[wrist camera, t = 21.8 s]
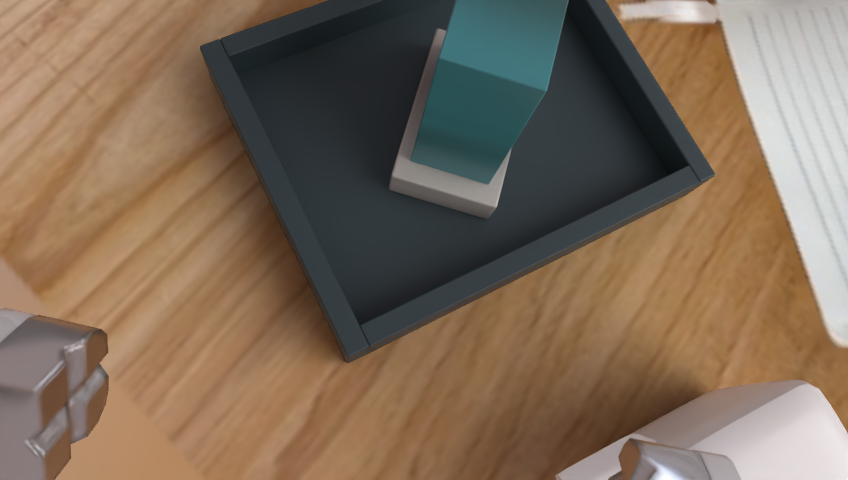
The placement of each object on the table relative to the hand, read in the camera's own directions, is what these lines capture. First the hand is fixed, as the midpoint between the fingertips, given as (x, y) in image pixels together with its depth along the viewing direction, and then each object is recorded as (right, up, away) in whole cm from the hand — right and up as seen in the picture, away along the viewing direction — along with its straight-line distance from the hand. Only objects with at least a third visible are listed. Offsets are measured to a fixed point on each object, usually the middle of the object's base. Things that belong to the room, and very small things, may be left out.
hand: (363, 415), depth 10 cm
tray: (+2, +7, +17) cm, 18 cm away
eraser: (+2, +7, +16) cm, 18 cm away
